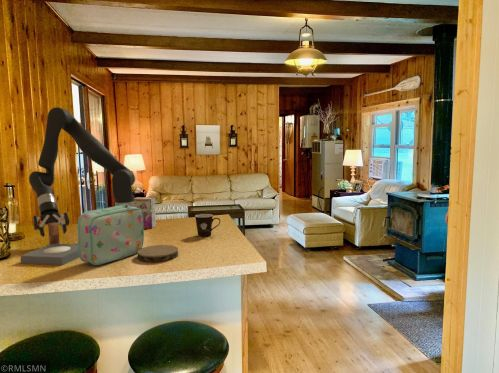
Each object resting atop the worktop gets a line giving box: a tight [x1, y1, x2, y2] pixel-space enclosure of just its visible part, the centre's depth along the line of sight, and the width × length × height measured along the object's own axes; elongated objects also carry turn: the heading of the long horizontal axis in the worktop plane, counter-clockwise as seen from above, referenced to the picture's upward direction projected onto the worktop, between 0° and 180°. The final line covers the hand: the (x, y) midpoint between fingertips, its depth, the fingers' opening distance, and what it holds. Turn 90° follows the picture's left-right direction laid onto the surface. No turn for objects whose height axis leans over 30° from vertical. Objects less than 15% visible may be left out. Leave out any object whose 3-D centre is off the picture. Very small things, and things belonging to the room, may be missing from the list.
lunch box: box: [77, 204, 145, 266], centre depth 148 cm, size 27×10×21 cm, turn 149°
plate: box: [20, 243, 80, 266], centre depth 151 cm, size 18×18×3 cm
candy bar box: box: [134, 196, 157, 229], centre depth 204 cm, size 11×5×16 cm, turn 77°
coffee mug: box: [194, 213, 221, 238], centre depth 183 cm, size 12×9×10 cm
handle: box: [46, 222, 64, 246], centre depth 166 cm, size 6×6×11 cm
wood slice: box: [137, 244, 179, 264], centre depth 150 cm, size 16×16×3 cm
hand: (54, 234), depth 165 cm, fingers open, 8 cm apart
